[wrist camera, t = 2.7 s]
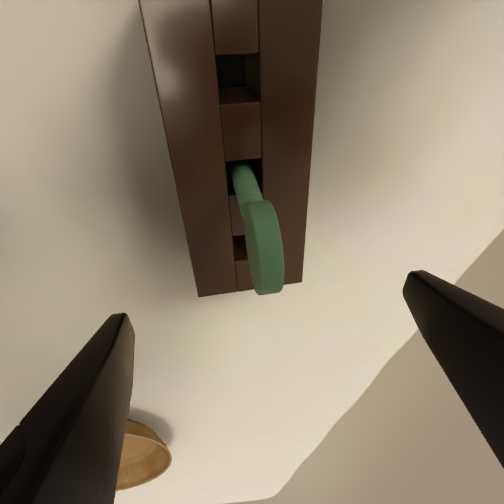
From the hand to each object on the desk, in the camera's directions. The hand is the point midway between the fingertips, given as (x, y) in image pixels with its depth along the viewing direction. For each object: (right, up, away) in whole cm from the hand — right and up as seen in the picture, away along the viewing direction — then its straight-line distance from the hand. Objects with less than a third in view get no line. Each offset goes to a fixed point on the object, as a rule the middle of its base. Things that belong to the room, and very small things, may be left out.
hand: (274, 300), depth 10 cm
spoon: (-2, +7, +8) cm, 11 cm away
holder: (-2, +7, +8) cm, 11 cm away
